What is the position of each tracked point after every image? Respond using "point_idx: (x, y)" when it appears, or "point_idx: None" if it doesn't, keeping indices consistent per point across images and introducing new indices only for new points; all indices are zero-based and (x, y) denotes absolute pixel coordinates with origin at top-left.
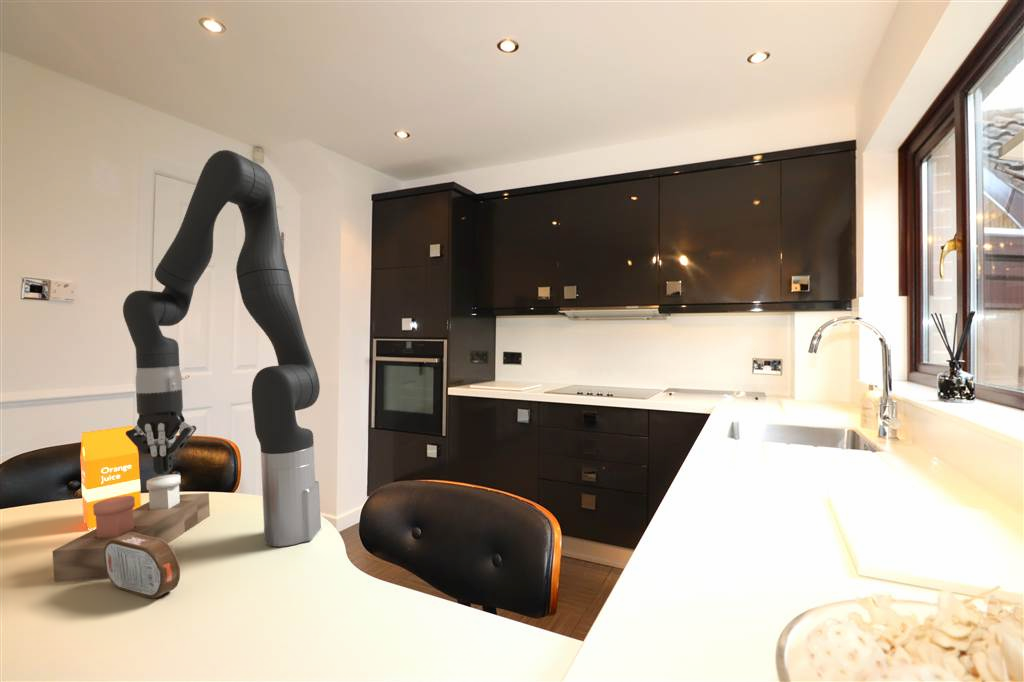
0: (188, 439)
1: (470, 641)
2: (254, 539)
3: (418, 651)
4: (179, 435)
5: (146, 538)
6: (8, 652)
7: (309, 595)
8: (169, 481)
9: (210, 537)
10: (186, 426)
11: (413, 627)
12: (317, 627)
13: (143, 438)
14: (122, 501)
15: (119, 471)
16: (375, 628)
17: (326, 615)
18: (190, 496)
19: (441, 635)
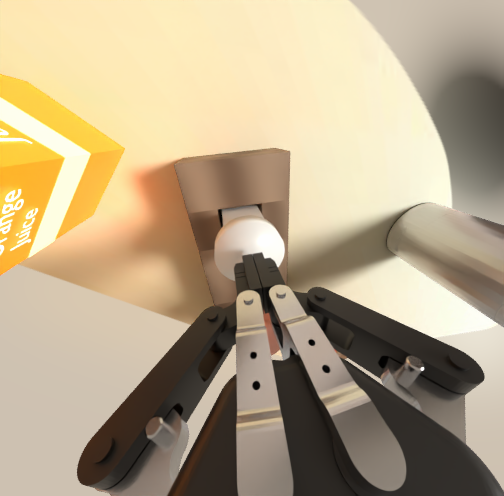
0: (378, 315)
1: (476, 321)
2: (373, 237)
3: (455, 328)
4: (379, 375)
5: (337, 354)
6: (278, 355)
7: (419, 306)
8: (277, 266)
9: (320, 233)
10: (447, 411)
11: (460, 318)
12: (420, 324)
13: (189, 390)
14: (274, 345)
15: (13, 215)
16: (444, 321)
17: (425, 317)
18: (259, 175)
19: (468, 320)
